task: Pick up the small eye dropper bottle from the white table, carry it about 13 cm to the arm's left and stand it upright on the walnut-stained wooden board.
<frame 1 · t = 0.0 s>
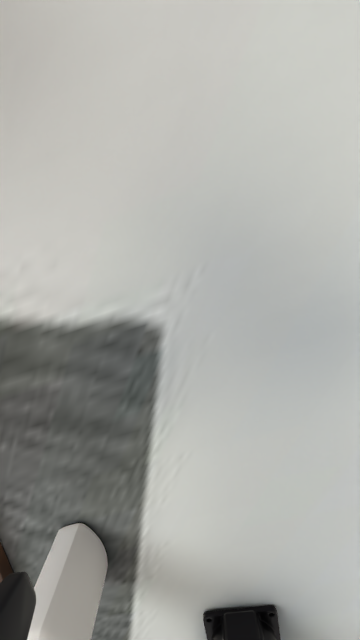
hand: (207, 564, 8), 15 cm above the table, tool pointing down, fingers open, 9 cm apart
eye dropper bottle: (85, 544, 27), on the table
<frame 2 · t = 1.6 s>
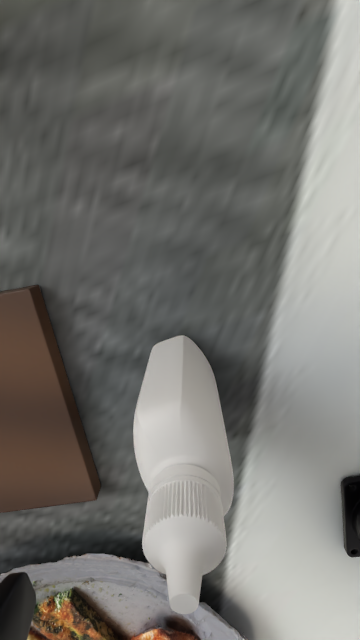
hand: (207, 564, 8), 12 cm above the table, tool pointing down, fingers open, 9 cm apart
eye dropper bottle: (185, 376, 19), on the table
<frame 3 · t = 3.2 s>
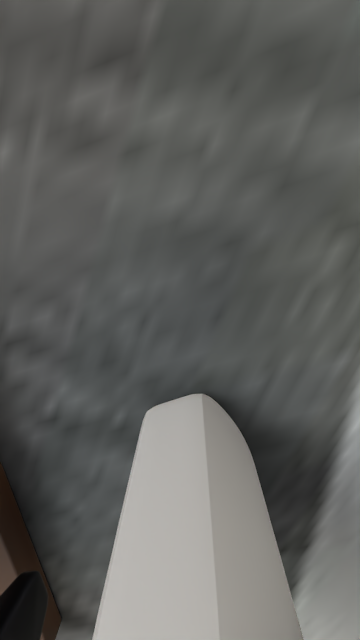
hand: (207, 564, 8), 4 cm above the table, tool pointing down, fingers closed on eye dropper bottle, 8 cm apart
eye dropper bottle: (201, 457, 11), on the table, touching gripper
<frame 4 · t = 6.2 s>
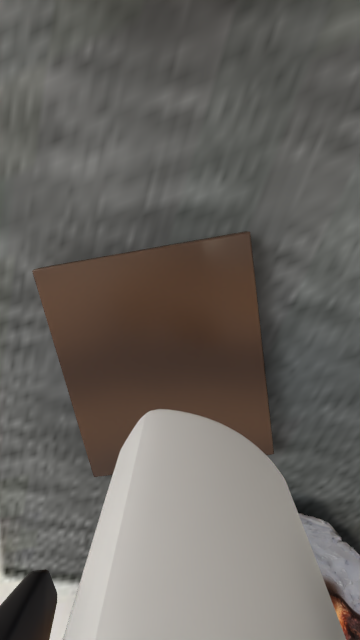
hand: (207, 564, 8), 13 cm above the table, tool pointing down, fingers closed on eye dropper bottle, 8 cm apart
walnut board: (163, 361, 20), on the table
eye dropper bottle: (203, 457, 11), point 9 cm above the table, touching gripper
food plate: (238, 609, 26), on the table
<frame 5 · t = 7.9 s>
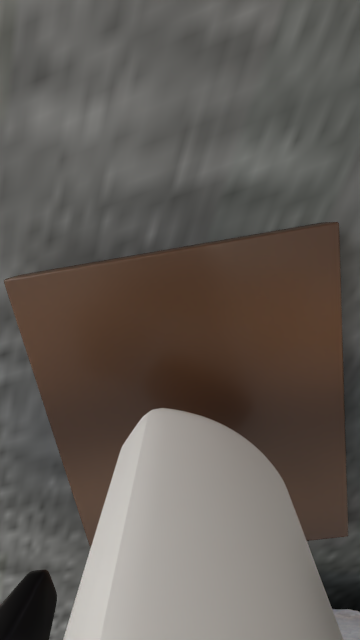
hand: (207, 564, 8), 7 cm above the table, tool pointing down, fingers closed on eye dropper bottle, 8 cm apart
walnut board: (195, 407, 14), on the table
eye dropper bottle: (203, 457, 11), point 3 cm above the table, touching gripper
when the fingers open (5 cm above the table, at t = 9.4 s): eye dropper bottle stays where it is, resting on walnut board.
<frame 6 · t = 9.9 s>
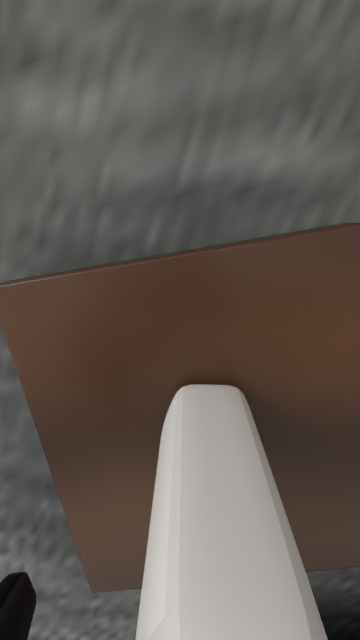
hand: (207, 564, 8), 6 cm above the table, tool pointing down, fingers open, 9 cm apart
walnut board: (200, 425, 13), on the table
eye dropper bottle: (206, 443, 12), point 1 cm above the table, touching walnut board
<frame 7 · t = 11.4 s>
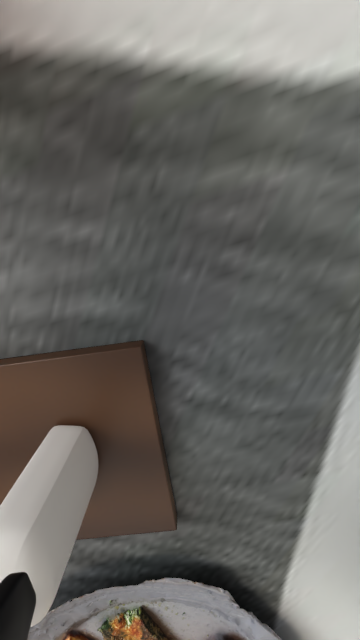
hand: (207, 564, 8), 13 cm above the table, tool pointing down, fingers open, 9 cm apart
walnut board: (76, 445, 22), on the table
eye dropper bottle: (74, 456, 21), point 1 cm above the table, touching walnut board
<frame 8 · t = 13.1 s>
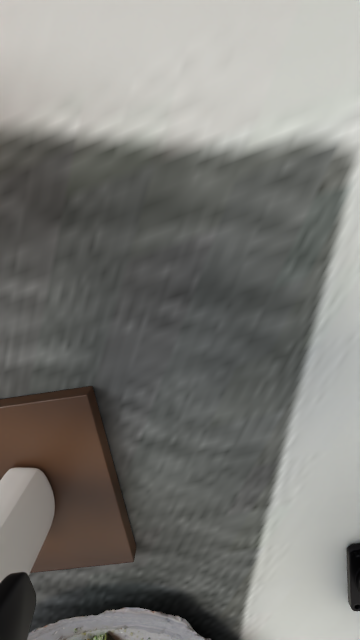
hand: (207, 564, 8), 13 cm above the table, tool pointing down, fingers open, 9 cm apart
walnut board: (36, 482, 23), on the table
eye dropper bottle: (32, 495, 22), point 1 cm above the table, touching walnut board
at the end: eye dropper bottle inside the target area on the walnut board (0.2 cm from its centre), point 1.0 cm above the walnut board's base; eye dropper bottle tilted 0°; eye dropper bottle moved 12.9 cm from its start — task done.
